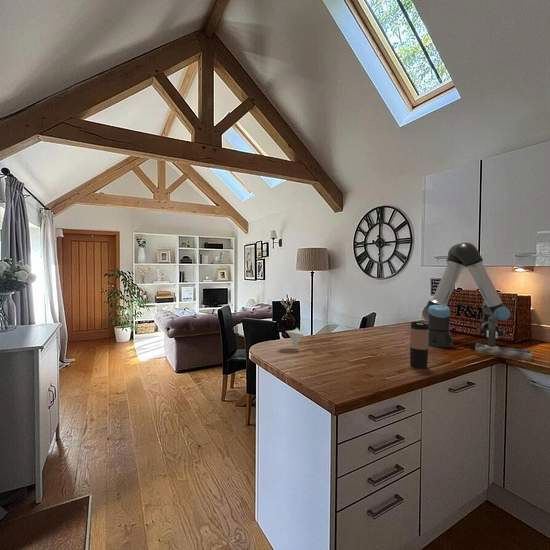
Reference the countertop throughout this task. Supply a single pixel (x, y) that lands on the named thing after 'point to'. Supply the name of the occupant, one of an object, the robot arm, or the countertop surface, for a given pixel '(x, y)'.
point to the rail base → (504, 352)
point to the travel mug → (419, 344)
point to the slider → (491, 333)
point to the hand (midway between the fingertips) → (492, 335)
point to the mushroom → (295, 336)
